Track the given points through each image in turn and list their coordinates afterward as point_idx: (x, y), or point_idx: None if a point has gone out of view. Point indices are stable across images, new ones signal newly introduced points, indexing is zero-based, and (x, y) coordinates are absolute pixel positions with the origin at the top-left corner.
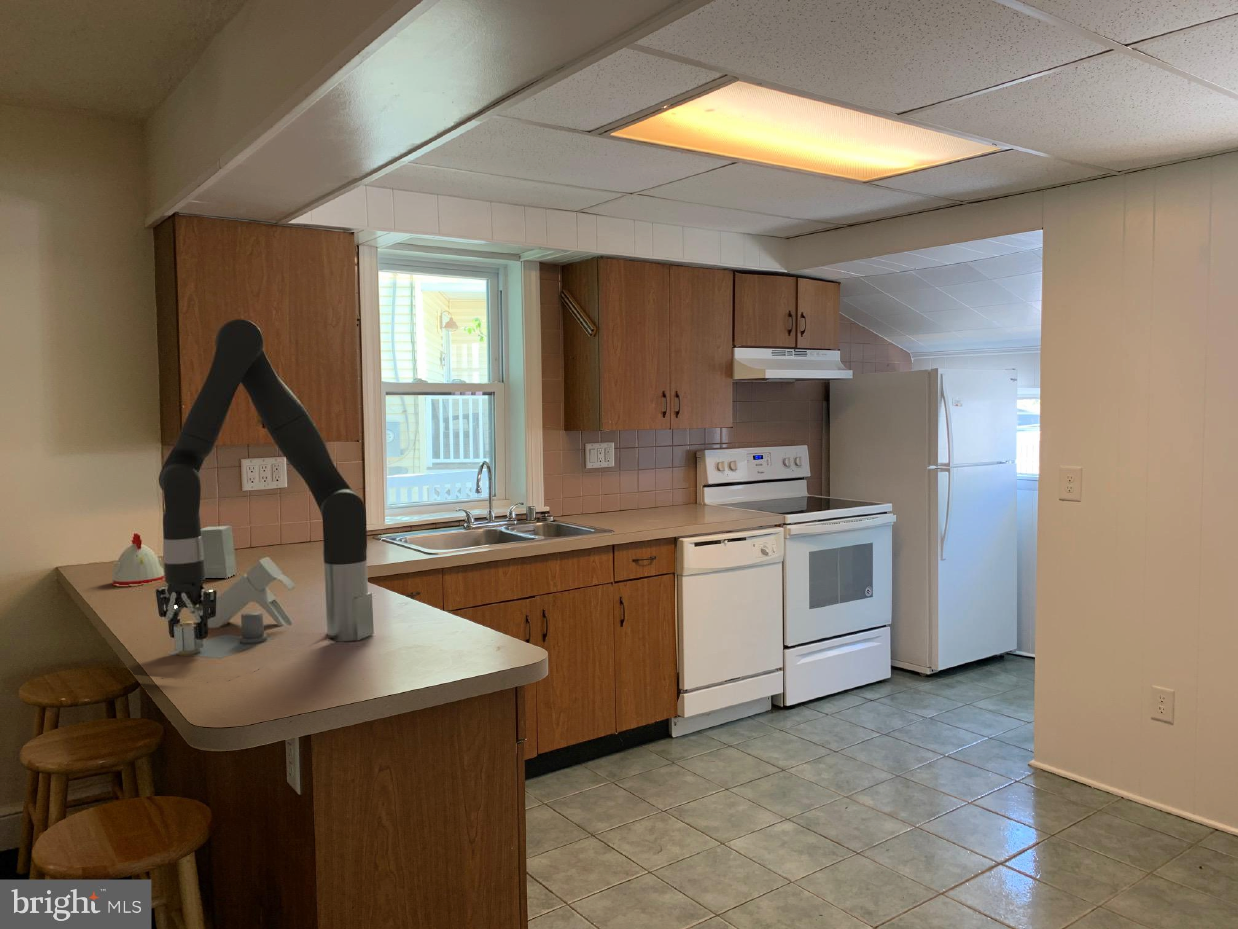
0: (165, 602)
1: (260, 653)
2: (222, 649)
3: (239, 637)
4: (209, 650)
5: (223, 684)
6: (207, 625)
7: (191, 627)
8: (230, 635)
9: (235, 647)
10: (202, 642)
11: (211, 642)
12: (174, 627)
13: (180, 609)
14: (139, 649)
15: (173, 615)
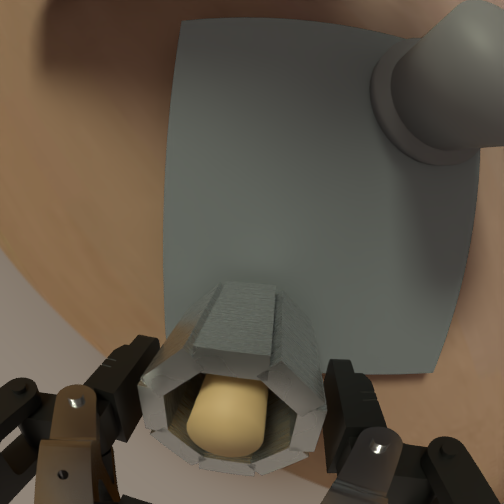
0: (2, 473)
1: (494, 211)
2: (378, 265)
3: (384, 117)
4: (325, 291)
5: (473, 455)
6: (381, 414)
7: (298, 456)
8: (233, 20)
9: (419, 224)
10: (316, 344)
11: (227, 150)
12: (201, 468)
13: (99, 456)
14: (5, 232)
15: (101, 447)
